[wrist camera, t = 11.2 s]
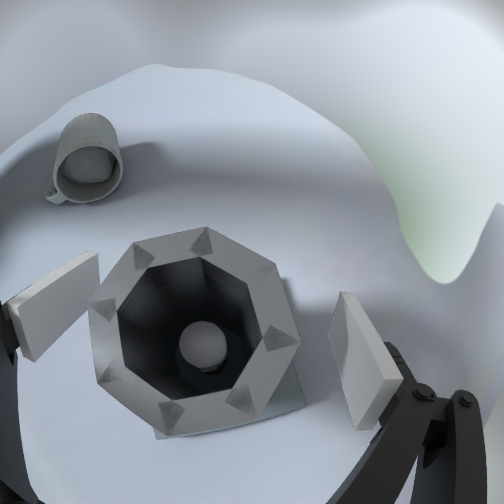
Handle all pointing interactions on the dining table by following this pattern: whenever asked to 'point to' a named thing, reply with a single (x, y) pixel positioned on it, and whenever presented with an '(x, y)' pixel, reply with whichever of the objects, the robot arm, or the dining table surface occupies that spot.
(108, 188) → the ceramic mug
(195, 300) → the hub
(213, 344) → the peg block
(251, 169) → the dining table surface
